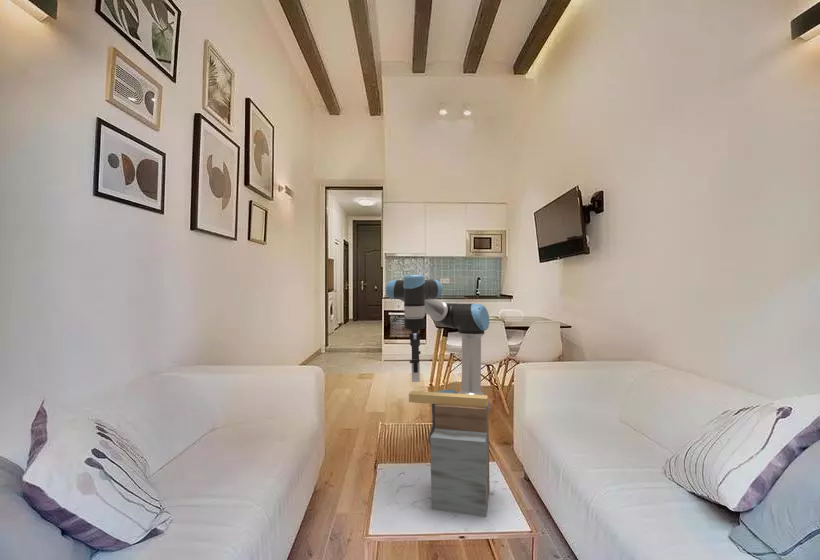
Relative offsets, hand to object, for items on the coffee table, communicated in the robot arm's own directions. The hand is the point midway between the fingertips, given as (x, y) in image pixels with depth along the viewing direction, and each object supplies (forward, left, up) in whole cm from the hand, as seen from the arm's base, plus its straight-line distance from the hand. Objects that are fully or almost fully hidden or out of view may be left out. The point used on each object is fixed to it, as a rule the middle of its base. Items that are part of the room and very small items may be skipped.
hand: (415, 376), depth 144 cm
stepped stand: (+7, +14, -42) cm, 45 cm away
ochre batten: (+1, +11, -10) cm, 15 cm away
